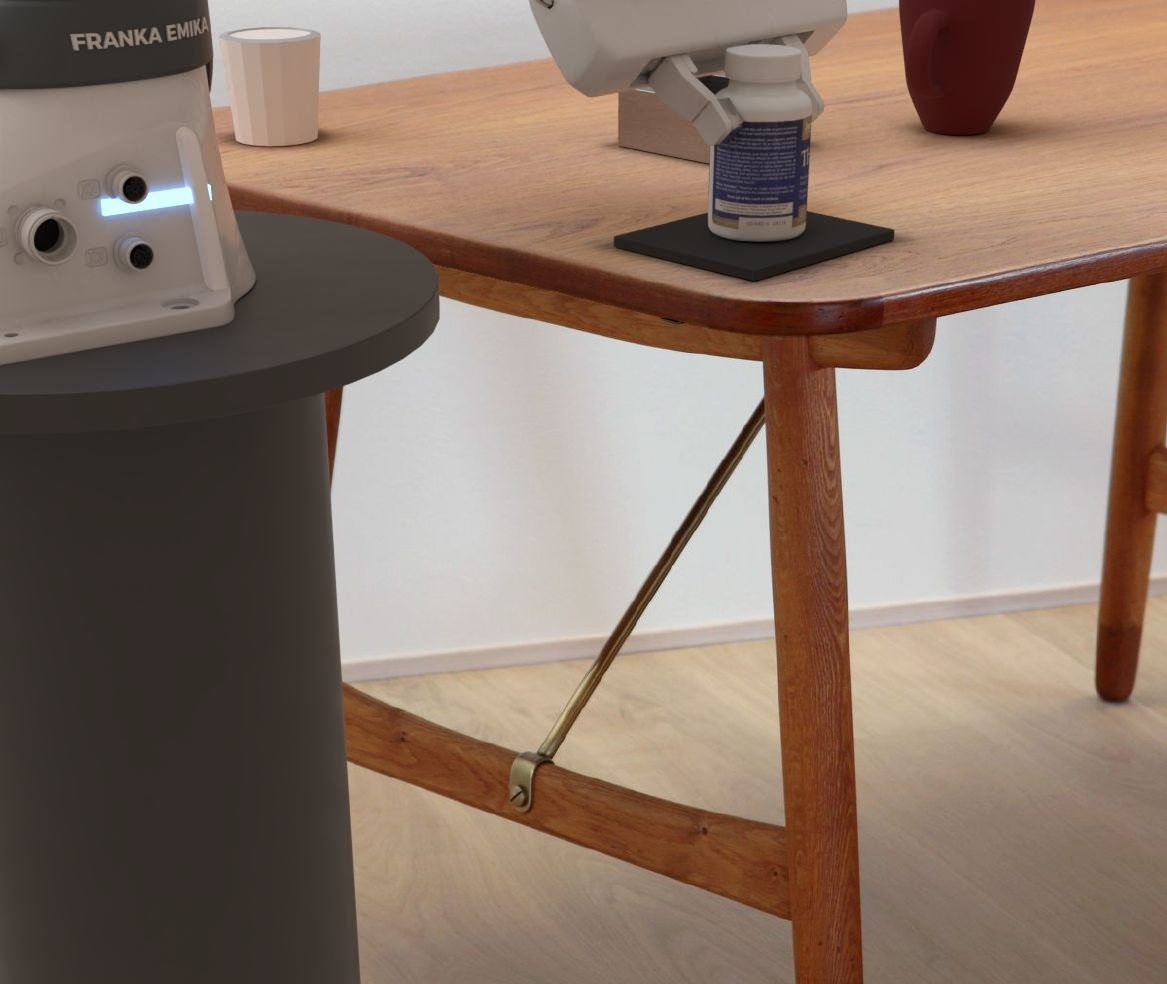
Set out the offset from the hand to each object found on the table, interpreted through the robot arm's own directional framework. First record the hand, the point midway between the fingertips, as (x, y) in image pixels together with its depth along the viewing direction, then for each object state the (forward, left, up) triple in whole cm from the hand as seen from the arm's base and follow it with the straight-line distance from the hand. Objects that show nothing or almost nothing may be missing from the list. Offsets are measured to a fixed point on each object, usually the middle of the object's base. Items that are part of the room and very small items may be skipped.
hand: (770, 128), depth 100 cm
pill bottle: (0, +1, -6) cm, 6 cm away
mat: (0, +1, -6) cm, 6 cm away
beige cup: (-1, +43, -7) cm, 43 cm away
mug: (+33, +11, -7) cm, 35 cm away
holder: (+18, +20, -6) cm, 27 cm away
